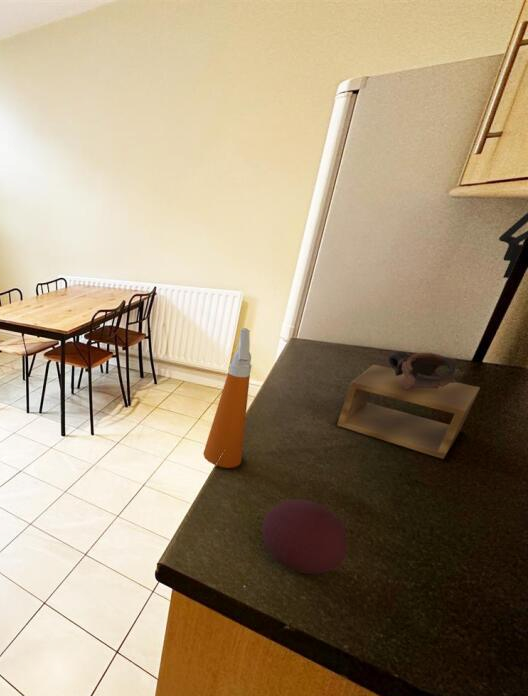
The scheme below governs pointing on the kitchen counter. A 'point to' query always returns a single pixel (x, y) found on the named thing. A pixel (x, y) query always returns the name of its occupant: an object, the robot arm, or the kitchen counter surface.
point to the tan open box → (403, 425)
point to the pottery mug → (421, 369)
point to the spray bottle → (231, 410)
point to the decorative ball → (305, 536)
